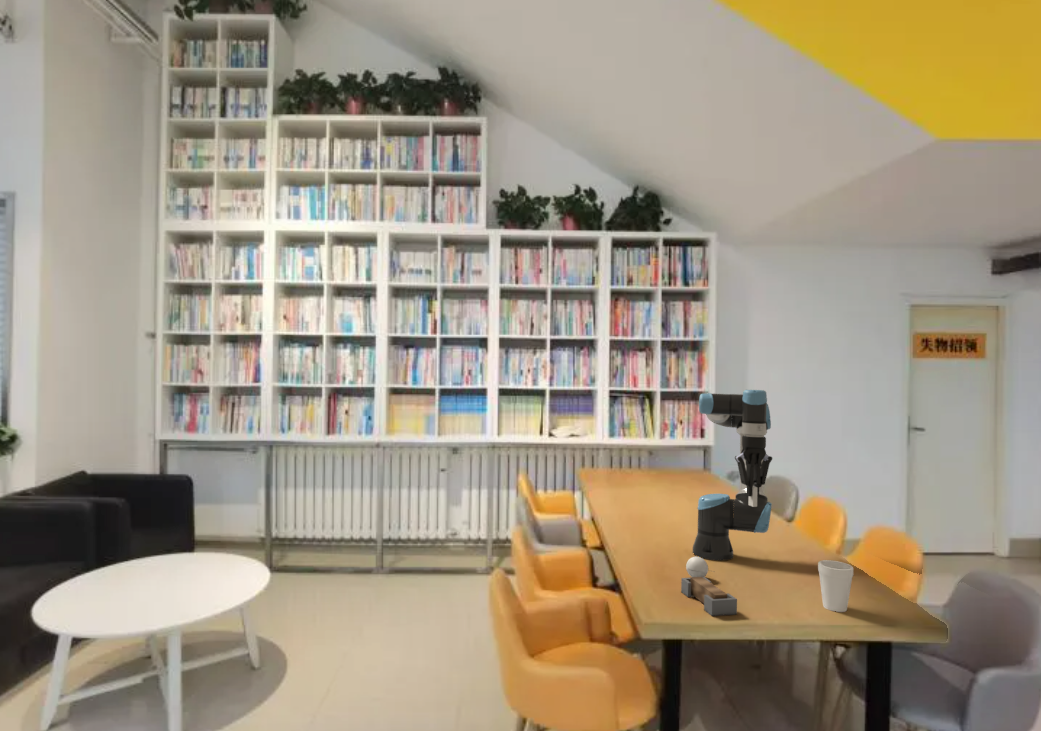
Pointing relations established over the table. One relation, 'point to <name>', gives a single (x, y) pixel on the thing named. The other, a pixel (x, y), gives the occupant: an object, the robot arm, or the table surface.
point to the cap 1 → (687, 586)
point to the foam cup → (835, 584)
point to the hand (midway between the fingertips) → (752, 505)
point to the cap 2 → (720, 605)
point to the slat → (705, 589)
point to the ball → (697, 567)
